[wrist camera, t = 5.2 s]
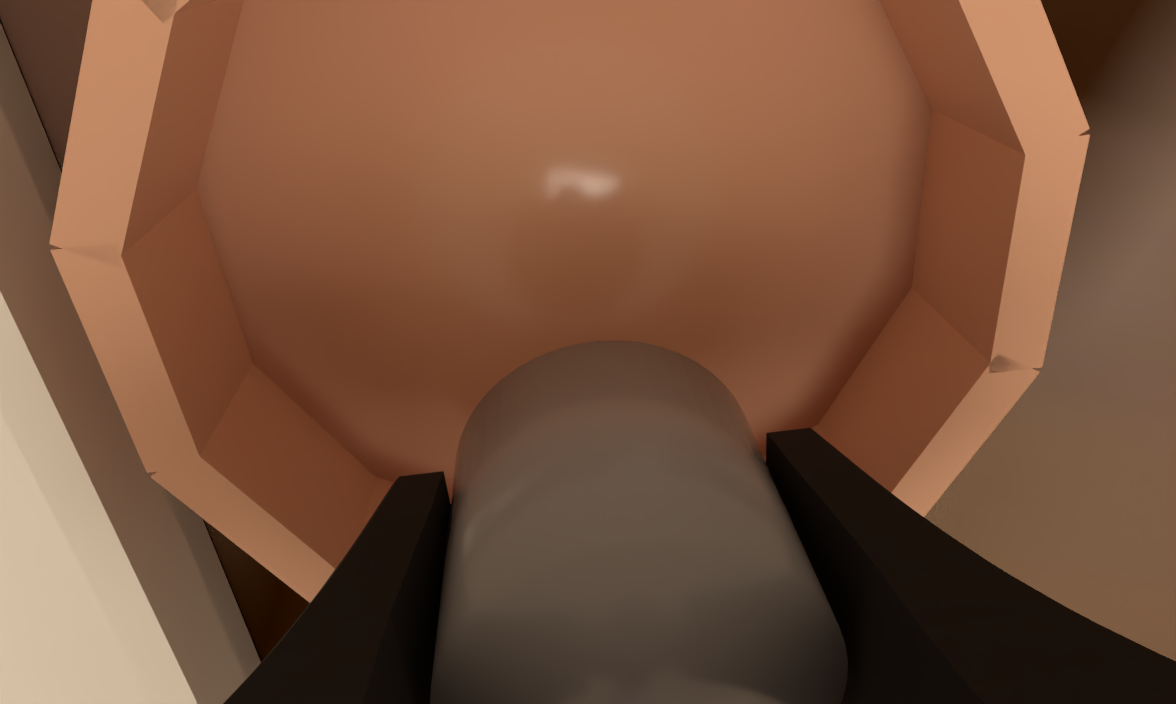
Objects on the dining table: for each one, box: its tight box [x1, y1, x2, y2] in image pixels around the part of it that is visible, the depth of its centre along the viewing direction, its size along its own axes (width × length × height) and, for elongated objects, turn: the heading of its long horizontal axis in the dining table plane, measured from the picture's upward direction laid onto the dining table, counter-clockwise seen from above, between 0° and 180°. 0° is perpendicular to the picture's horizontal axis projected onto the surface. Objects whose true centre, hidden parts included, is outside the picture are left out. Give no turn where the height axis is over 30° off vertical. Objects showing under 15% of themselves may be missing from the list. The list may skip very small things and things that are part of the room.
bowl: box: [49, 0, 1090, 603], centre depth 13 cm, size 13×13×4 cm
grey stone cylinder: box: [430, 340, 848, 704], centre depth 10 cm, size 4×4×4 cm
